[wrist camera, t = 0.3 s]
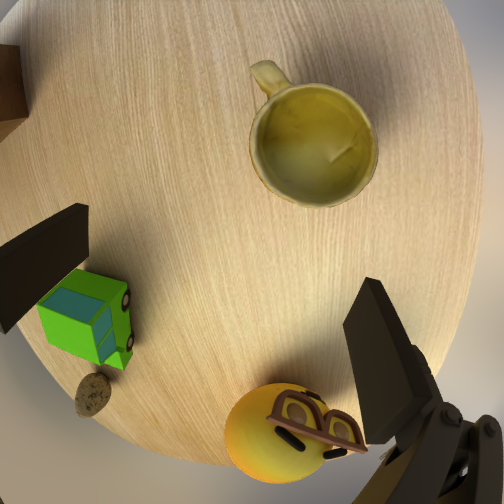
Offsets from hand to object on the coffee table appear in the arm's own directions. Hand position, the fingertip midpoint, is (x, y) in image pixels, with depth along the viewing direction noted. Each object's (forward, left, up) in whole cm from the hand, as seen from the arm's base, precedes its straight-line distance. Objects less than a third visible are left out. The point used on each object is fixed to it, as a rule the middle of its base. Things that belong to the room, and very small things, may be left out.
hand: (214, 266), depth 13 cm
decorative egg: (+26, -35, -18) cm, 47 cm away
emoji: (+31, -3, -18) cm, 35 cm away
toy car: (+12, -24, -18) cm, 32 cm away
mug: (-4, +6, -18) cm, 19 cm away
